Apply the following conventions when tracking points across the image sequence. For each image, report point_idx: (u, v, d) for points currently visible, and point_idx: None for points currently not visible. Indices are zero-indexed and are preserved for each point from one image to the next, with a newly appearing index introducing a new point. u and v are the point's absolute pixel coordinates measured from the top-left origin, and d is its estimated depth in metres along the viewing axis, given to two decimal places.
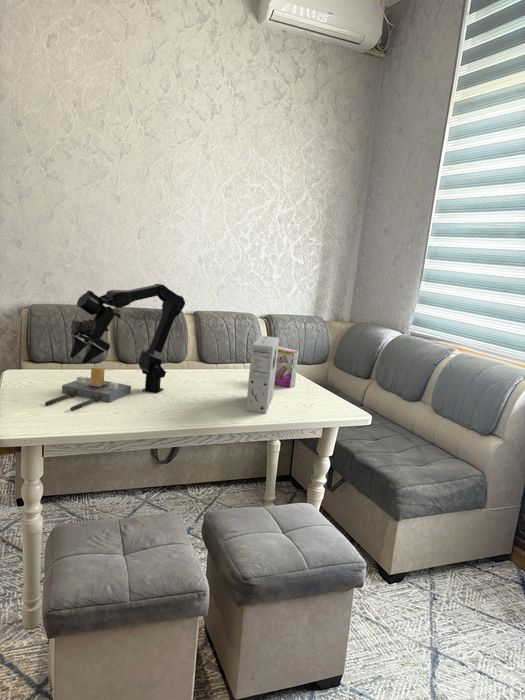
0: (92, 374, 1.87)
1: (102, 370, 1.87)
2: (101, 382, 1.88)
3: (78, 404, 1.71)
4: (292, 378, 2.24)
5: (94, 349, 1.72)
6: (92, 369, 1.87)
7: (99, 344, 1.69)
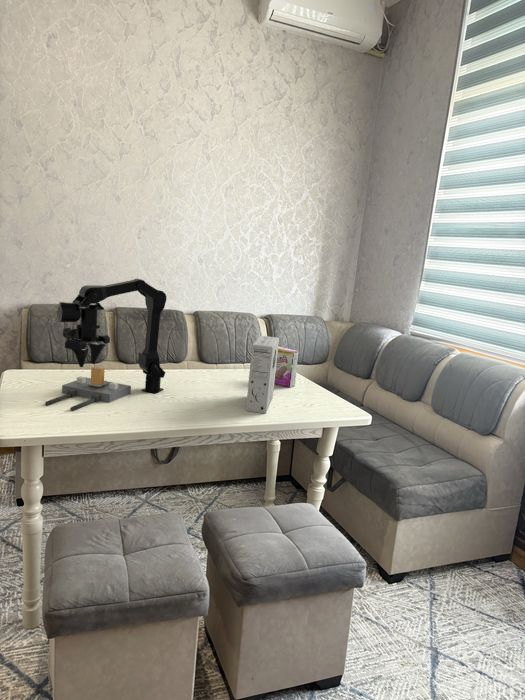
0: (92, 374, 1.87)
1: (102, 370, 1.87)
2: (101, 382, 1.88)
3: (78, 404, 1.71)
4: (292, 378, 2.24)
5: (80, 351, 1.75)
6: (92, 369, 1.87)
7: (68, 347, 1.71)
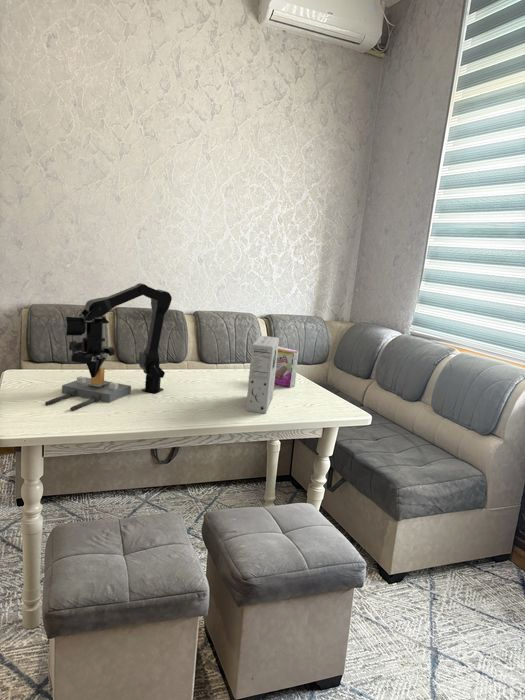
0: None
1: (102, 370, 1.87)
2: (101, 382, 1.88)
3: (78, 404, 1.71)
4: (292, 378, 2.24)
5: (91, 362, 1.83)
6: None
7: (74, 360, 1.75)
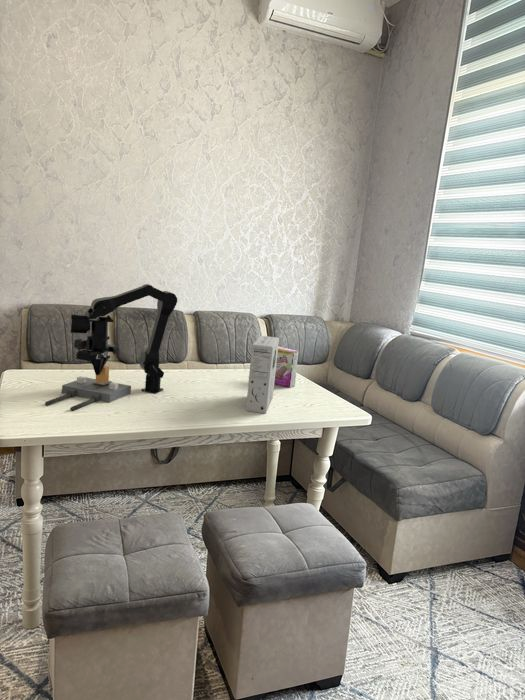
0: None
1: (107, 368, 1.90)
2: (106, 380, 1.91)
3: (78, 404, 1.71)
4: (292, 378, 2.24)
5: (96, 360, 1.86)
6: None
7: (79, 357, 1.78)
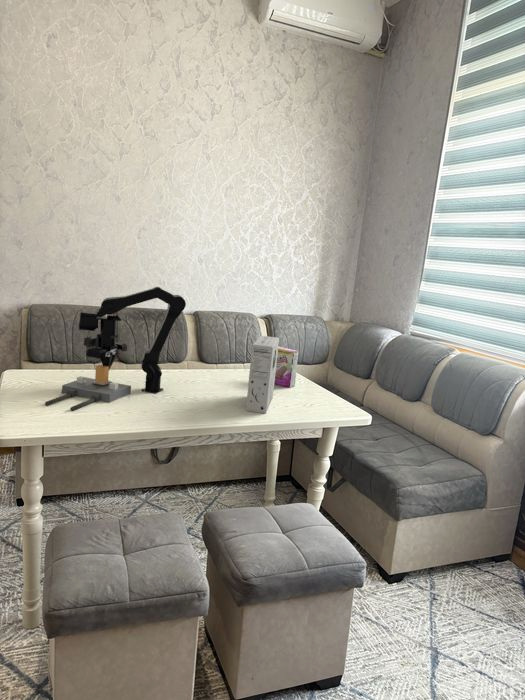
0: (97, 372, 1.90)
1: (106, 369, 1.90)
2: (105, 380, 1.90)
3: (78, 404, 1.71)
4: (292, 378, 2.24)
5: (105, 357, 1.91)
6: (97, 368, 1.90)
7: (89, 355, 1.84)
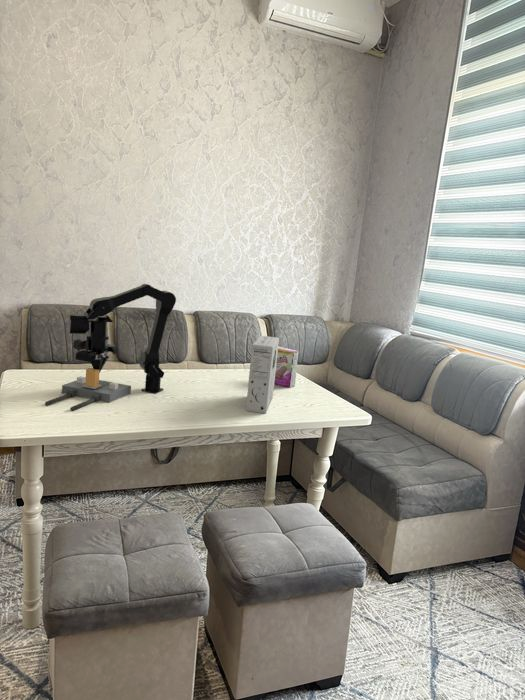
0: (87, 376, 1.84)
1: (97, 372, 1.84)
2: (96, 384, 1.85)
3: (78, 404, 1.71)
4: (292, 378, 2.24)
5: (95, 360, 1.85)
6: (87, 371, 1.84)
7: (78, 358, 1.78)
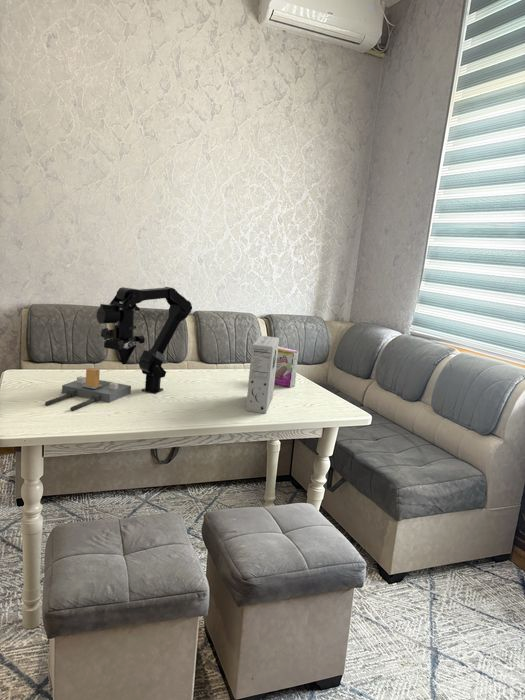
0: (87, 376, 1.84)
1: (97, 372, 1.84)
2: (96, 384, 1.85)
3: (78, 404, 1.71)
4: (292, 378, 2.24)
5: (123, 349, 1.85)
6: (87, 371, 1.84)
7: (107, 346, 1.78)
